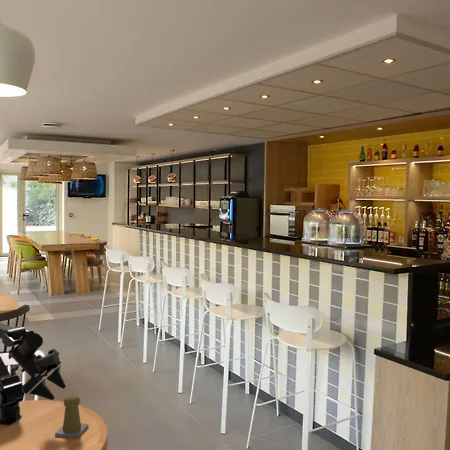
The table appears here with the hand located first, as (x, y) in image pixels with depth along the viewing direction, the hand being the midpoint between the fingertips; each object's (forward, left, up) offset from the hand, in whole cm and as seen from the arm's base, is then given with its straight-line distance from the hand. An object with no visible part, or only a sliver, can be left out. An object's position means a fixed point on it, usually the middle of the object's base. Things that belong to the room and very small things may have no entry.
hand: (59, 393), depth 156 cm
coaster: (+5, 0, -13) cm, 14 cm away
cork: (+4, 0, -12) cm, 13 cm away
